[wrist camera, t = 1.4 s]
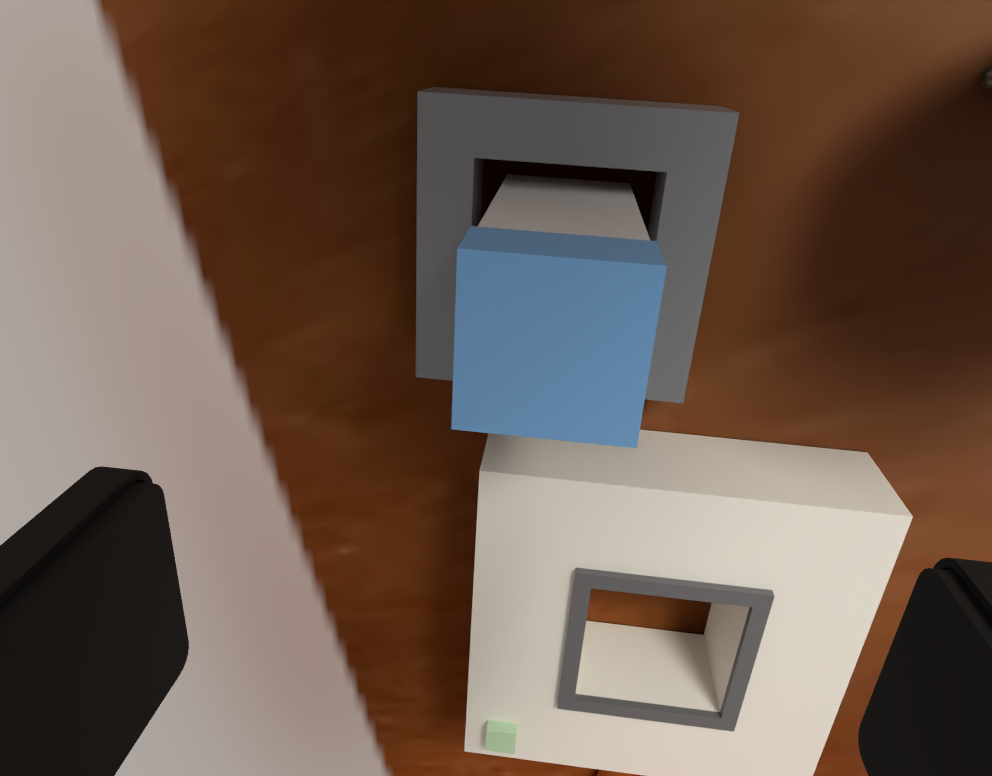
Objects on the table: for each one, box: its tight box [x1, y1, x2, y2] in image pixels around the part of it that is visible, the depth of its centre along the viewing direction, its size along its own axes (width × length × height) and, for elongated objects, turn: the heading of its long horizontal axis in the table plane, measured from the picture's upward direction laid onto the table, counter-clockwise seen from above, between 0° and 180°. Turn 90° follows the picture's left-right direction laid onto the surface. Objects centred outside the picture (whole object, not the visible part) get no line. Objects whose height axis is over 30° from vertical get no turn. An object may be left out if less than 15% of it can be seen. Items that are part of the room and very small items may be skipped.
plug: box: [451, 174, 667, 448], centre depth 20 cm, size 4×4×10 cm
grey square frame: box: [416, 87, 739, 403], centre depth 23 cm, size 9×9×2 cm
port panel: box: [464, 430, 913, 776], centre depth 28 cm, size 14×14×4 cm
